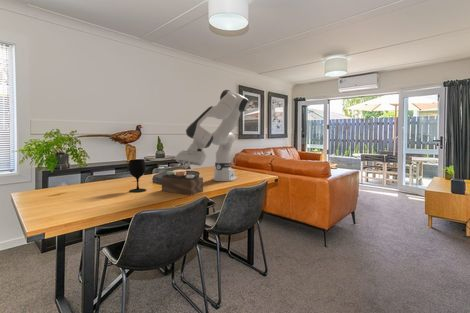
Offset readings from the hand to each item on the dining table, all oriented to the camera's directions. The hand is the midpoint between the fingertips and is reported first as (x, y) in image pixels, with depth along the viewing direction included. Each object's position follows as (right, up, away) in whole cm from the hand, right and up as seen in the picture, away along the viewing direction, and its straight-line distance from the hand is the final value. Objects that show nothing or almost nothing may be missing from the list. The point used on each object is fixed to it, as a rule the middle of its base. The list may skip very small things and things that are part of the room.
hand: (184, 167), depth 166 cm
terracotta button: (-3, -5, 0) cm, 6 cm away
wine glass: (-30, -15, +3) cm, 34 cm away
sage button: (-10, -5, +4) cm, 11 cm away
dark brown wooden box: (-2, -15, +3) cm, 16 cm away
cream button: (+4, -7, -4) cm, 9 cm away
